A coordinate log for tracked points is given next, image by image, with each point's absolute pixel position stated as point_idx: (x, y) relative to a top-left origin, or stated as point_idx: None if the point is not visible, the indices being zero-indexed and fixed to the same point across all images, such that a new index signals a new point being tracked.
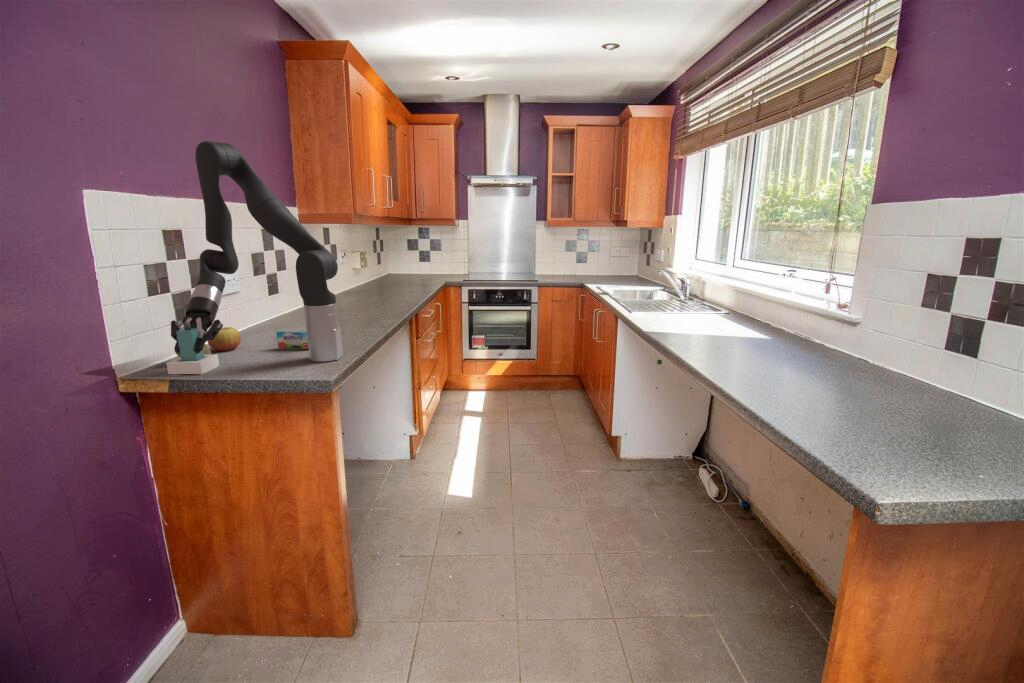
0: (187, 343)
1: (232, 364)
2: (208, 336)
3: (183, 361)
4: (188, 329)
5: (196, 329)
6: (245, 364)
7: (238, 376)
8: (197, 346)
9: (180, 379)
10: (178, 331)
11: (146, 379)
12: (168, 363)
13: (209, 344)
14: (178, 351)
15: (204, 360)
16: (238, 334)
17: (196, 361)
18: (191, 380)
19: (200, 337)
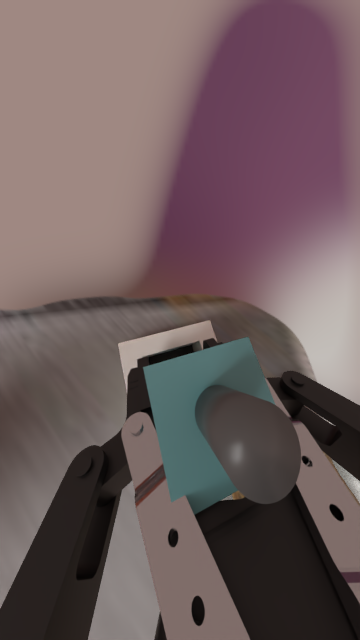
0: (176, 357)
1: None
2: (84, 454)
3: (180, 344)
4: (200, 398)
5: (163, 457)
6: (61, 479)
7: (7, 348)
8: (139, 374)
9: (148, 307)
10: (235, 341)
11: (218, 299)
12: (204, 321)
13: None
14: (203, 344)
15: (122, 367)
16: None
17: (138, 350)
18: (116, 304)
19: (133, 419)
